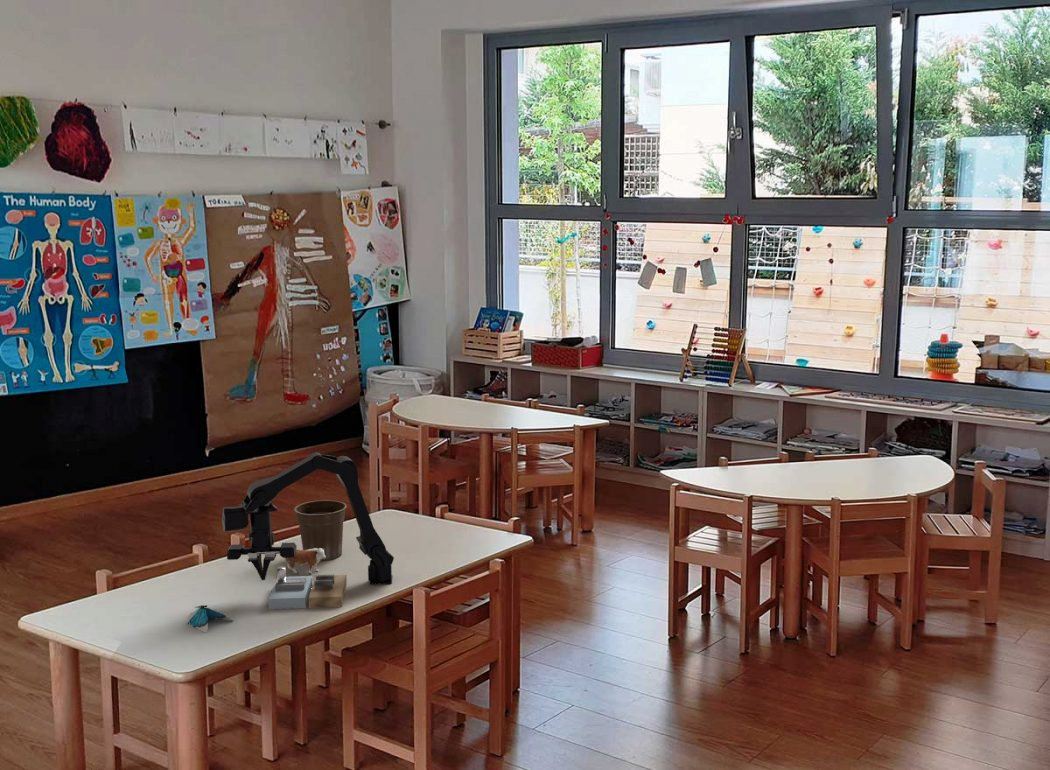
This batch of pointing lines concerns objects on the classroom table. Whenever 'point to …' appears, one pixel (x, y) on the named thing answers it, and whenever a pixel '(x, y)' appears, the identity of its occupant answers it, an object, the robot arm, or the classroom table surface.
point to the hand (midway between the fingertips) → (263, 579)
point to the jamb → (328, 591)
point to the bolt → (282, 577)
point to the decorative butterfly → (204, 617)
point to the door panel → (290, 594)
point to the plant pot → (322, 526)
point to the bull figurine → (306, 558)
